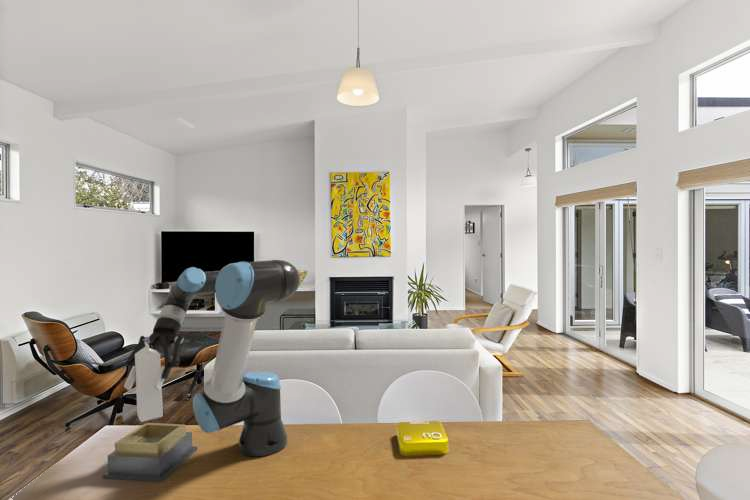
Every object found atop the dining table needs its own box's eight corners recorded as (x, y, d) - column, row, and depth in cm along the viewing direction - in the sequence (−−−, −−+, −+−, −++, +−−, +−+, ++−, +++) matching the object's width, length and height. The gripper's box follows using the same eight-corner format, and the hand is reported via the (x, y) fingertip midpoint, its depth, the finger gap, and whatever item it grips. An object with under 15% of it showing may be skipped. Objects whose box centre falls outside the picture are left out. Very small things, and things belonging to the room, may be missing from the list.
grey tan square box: (197, 449, 136) (196, 421, 135) (160, 482, 118) (159, 449, 118) (145, 446, 138) (144, 419, 138) (102, 478, 121) (101, 446, 120)
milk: (140, 422, 124) (136, 347, 123) (137, 415, 129) (133, 343, 128) (163, 416, 128) (159, 343, 127) (159, 410, 133) (156, 339, 132)
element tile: (440, 432, 144) (440, 418, 144) (450, 455, 129) (449, 439, 129) (396, 434, 144) (395, 420, 143) (400, 457, 129) (400, 441, 128)
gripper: (204, 328, 142) (182, 394, 127) (143, 329, 143) (113, 394, 128) (196, 315, 137) (171, 382, 121) (133, 316, 138) (100, 382, 123)
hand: (142, 388), depth 125 cm, fingers closed on milk, 8 cm apart
